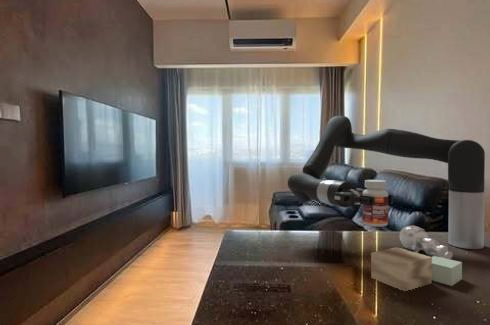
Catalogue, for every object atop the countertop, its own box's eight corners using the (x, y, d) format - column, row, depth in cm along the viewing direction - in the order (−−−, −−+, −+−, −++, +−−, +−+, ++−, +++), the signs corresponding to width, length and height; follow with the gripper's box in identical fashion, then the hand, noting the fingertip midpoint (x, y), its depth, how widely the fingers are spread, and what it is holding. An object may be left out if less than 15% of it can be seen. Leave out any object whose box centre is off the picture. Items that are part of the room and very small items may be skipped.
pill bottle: (374, 228, 79) (375, 182, 78) (357, 222, 85) (357, 180, 84) (393, 225, 81) (393, 181, 81) (375, 220, 87) (375, 179, 86)
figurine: (444, 234, 85) (404, 213, 99) (425, 254, 84) (387, 230, 99) (462, 257, 88) (421, 234, 102) (443, 276, 88) (404, 250, 102)
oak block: (396, 270, 80) (396, 247, 80) (431, 283, 72) (431, 257, 72) (371, 277, 76) (371, 252, 76) (405, 292, 68) (406, 264, 68)
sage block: (433, 271, 79) (434, 255, 79) (461, 279, 75) (461, 262, 75) (423, 277, 76) (423, 261, 76) (451, 285, 71) (451, 268, 71)
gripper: (316, 181, 92) (362, 187, 77) (353, 179, 98) (402, 183, 84) (316, 207, 92) (362, 218, 77) (353, 203, 99) (402, 212, 84)
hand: (383, 200), depth 80 cm, fingers closed on pill bottle, 6 cm apart
